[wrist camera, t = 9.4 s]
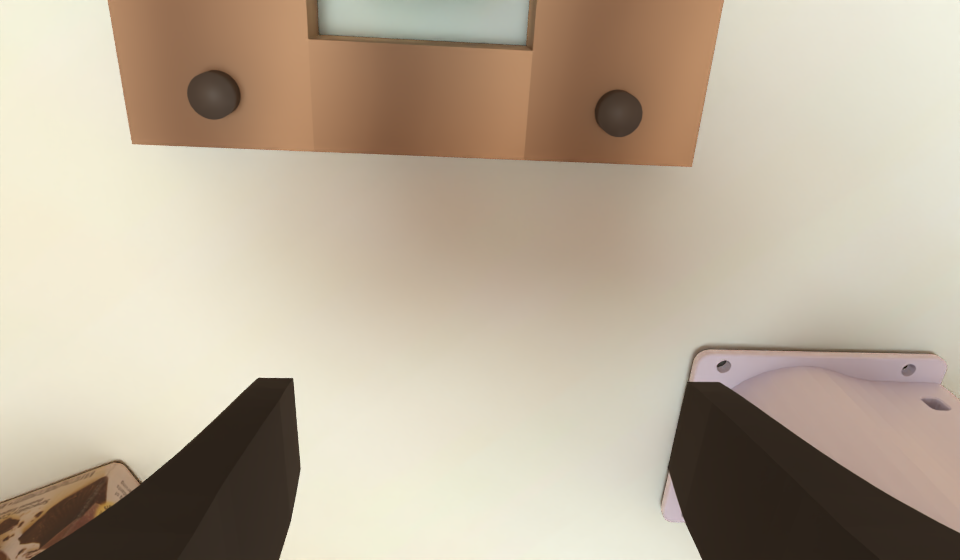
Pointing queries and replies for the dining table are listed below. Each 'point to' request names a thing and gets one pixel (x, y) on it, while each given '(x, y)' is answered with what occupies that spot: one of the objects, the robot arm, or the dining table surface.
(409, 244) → the dining table surface
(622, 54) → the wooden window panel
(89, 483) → the coffee box
